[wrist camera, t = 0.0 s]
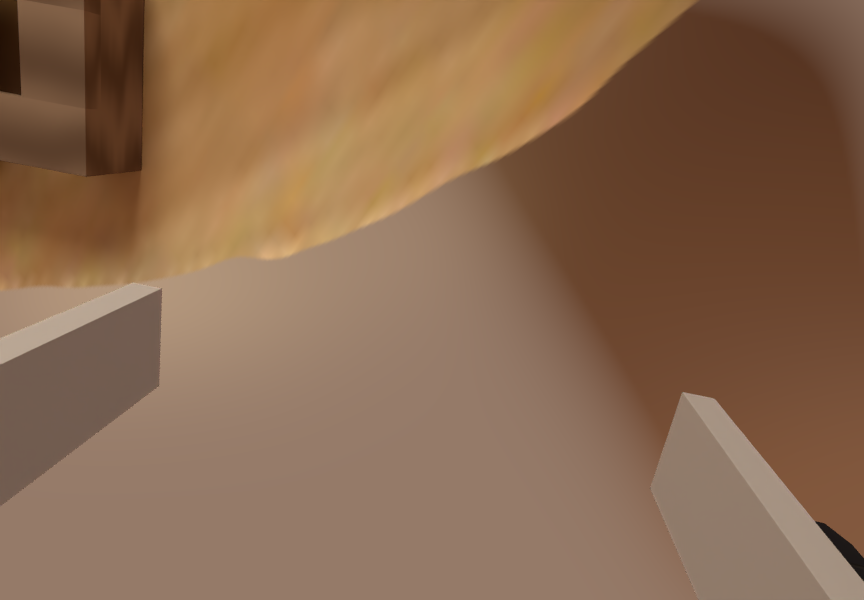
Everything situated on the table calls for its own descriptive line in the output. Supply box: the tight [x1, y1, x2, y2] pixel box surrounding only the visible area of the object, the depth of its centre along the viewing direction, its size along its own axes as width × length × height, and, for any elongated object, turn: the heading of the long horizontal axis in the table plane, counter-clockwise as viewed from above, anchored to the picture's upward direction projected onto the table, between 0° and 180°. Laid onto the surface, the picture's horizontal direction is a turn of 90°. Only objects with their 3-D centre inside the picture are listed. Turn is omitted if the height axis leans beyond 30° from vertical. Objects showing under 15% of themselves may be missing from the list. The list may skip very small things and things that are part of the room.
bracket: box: [0, 0, 144, 177], centre depth 38 cm, size 14×14×6 cm
